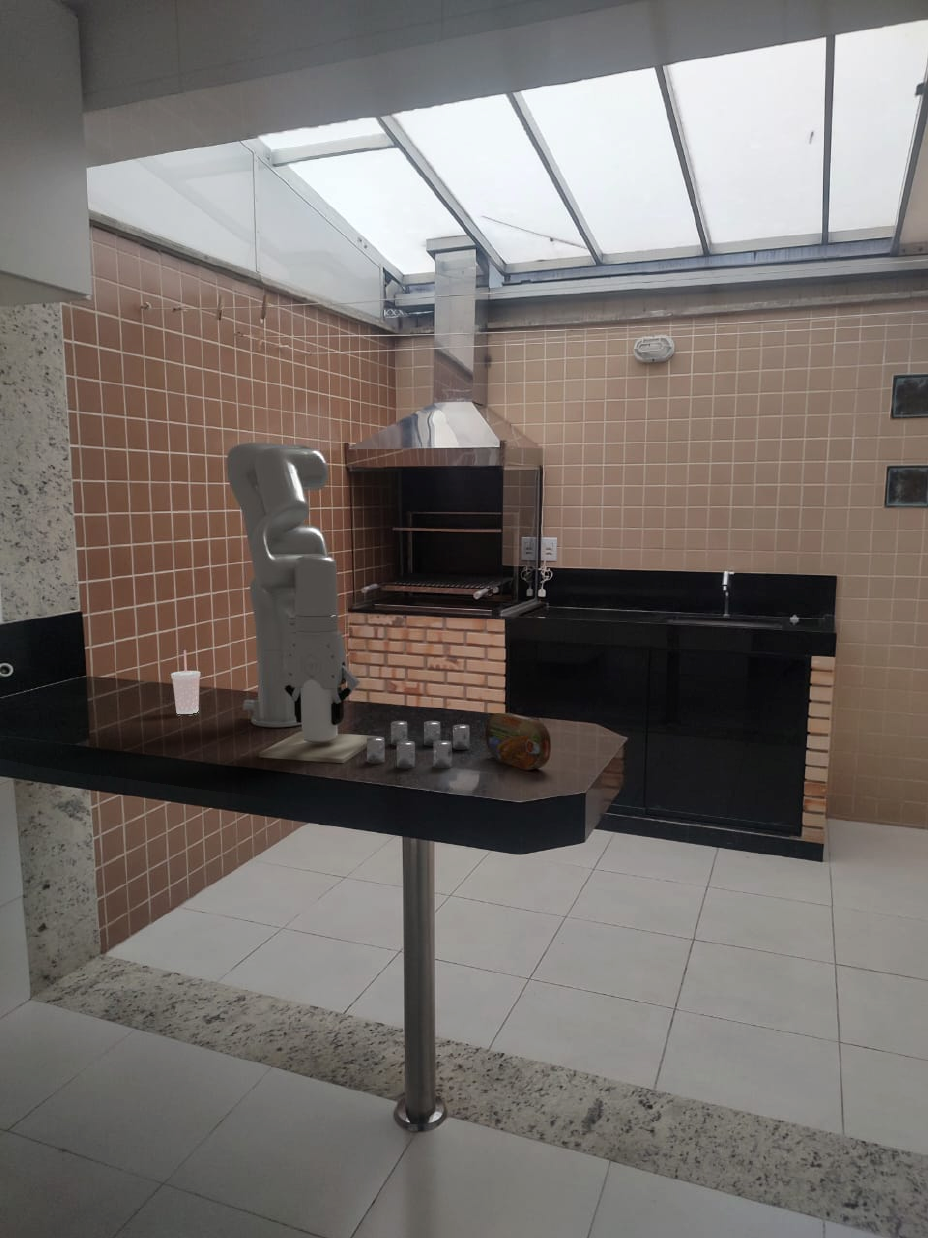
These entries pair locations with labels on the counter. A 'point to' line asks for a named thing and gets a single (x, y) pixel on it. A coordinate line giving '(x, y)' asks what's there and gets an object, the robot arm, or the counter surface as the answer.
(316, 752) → the board
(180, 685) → the beverage cup
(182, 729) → the counter surface
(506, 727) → the tin
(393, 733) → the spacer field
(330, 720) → the can
